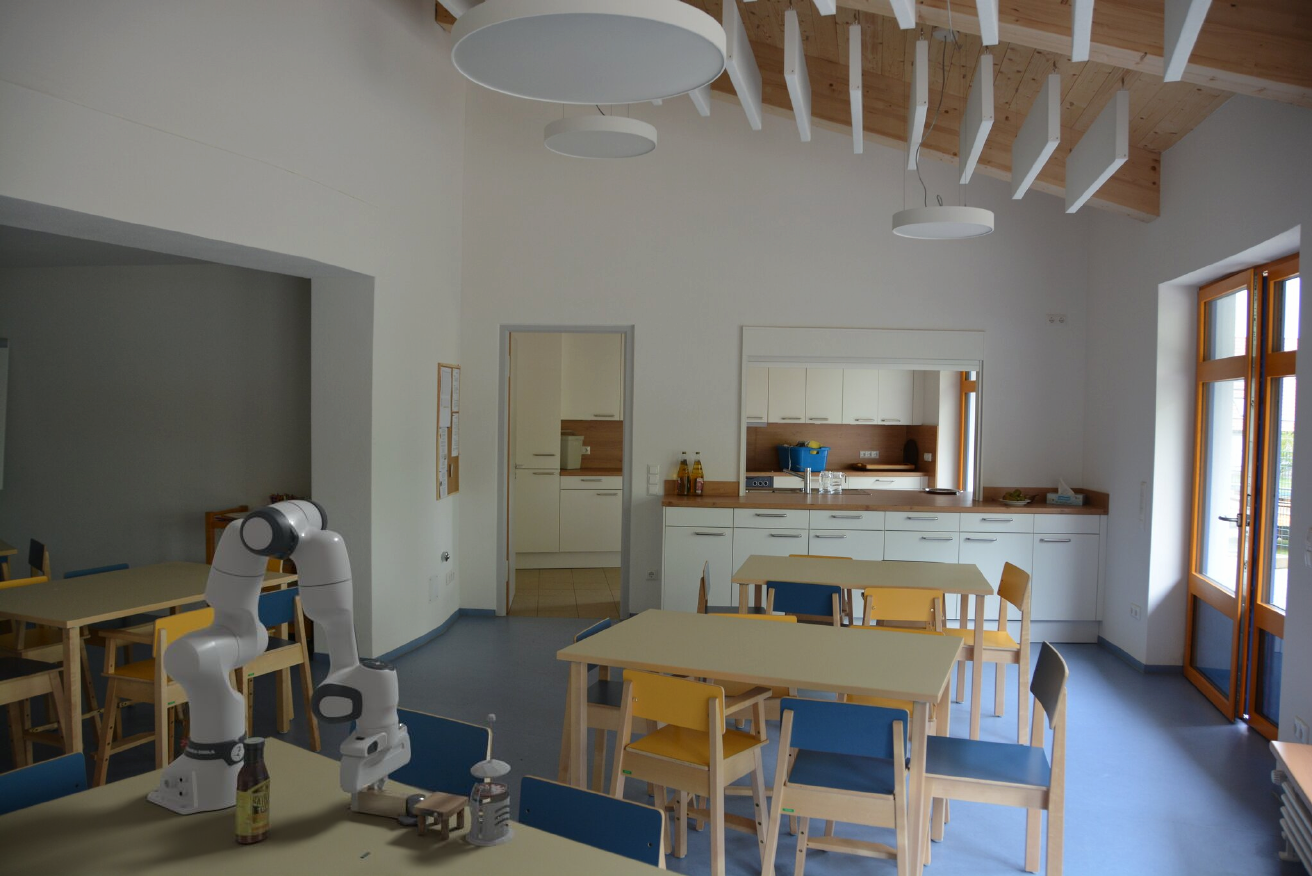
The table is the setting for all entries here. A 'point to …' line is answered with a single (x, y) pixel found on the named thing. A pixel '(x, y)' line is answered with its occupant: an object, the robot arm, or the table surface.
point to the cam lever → (387, 804)
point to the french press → (490, 803)
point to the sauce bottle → (252, 794)
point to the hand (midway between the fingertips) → (377, 797)
